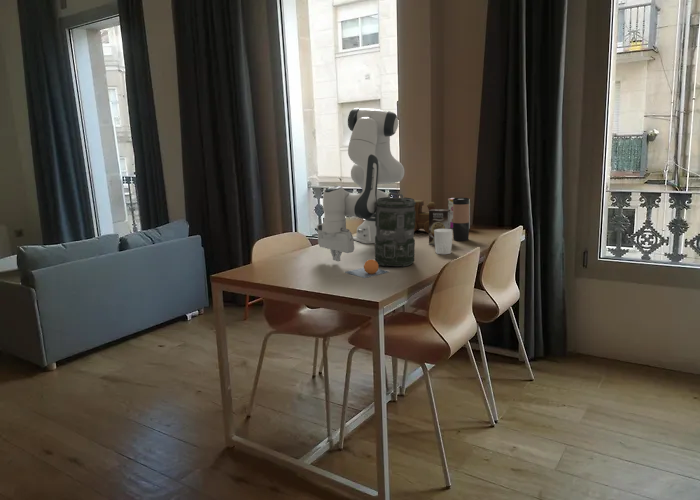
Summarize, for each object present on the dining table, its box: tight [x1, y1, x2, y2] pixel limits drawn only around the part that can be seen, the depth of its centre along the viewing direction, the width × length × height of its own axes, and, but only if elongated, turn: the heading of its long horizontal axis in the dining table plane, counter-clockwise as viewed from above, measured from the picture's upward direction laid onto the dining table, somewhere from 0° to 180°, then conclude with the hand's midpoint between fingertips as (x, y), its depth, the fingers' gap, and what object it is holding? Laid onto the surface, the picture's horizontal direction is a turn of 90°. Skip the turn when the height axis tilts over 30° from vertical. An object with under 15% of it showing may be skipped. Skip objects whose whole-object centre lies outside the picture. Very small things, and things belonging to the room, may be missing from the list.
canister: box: [374, 192, 416, 268], centre depth 212 cm, size 16×16×28 cm
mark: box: [344, 267, 390, 279], centre depth 203 cm, size 12×12×1 cm
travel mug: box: [452, 197, 470, 242], centre depth 257 cm, size 8×8×20 cm
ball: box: [363, 259, 380, 274], centre depth 200 cm, size 6×6×6 cm
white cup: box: [434, 229, 453, 255], centre depth 231 cm, size 8×8×10 cm
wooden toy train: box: [414, 199, 437, 234], centre depth 283 cm, size 20×11×17 cm, turn 66°
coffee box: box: [428, 208, 450, 246], centre depth 250 cm, size 9×6×16 cm
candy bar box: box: [447, 197, 471, 230], centre depth 288 cm, size 11×5×16 cm, turn 46°
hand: (336, 260), depth 217 cm, fingers closed
